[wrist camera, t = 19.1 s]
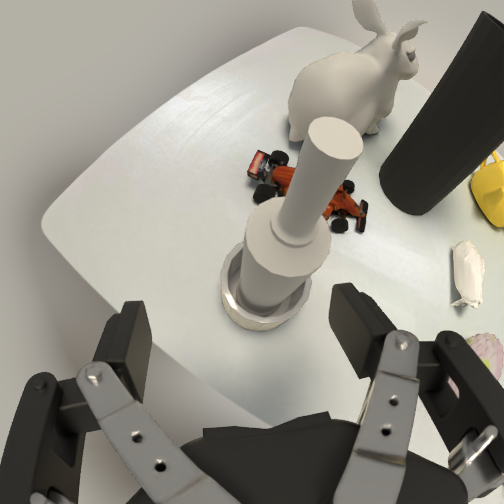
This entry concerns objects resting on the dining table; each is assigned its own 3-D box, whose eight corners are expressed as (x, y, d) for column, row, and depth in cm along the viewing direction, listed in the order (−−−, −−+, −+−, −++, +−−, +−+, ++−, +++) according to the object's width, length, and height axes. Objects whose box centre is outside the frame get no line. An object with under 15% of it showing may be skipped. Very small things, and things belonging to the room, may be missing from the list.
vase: (441, 198, 41) (557, 78, 13) (410, 227, 39) (555, 85, 11) (402, 151, 44) (493, 15, 16) (366, 173, 41) (470, 5, 13)
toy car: (360, 244, 37) (374, 230, 33) (239, 198, 38) (241, 179, 34) (369, 196, 40) (382, 180, 36) (259, 154, 40) (263, 133, 36)
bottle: (289, 284, 34) (407, 128, 10) (270, 326, 32) (389, 228, 8) (247, 264, 34) (292, 75, 11) (227, 305, 32) (235, 156, 9)
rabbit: (399, 137, 45) (467, 29, 22) (311, 176, 40) (380, 15, 16) (357, 95, 48) (404, -14, 25) (265, 122, 43) (294, -29, 19)
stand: (225, 334, 32) (225, 327, 25) (218, 262, 34) (217, 238, 28) (299, 326, 33) (317, 317, 26) (289, 257, 35) (303, 233, 29)
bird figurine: (468, 308, 36) (472, 244, 38) (491, 309, 30) (495, 236, 31) (443, 306, 37) (448, 240, 38) (465, 307, 31) (470, 231, 32)
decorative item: (512, 356, 28) (527, 369, 20) (461, 410, 31) (462, 436, 23) (476, 317, 33) (485, 320, 25) (426, 373, 36) (420, 390, 28)
